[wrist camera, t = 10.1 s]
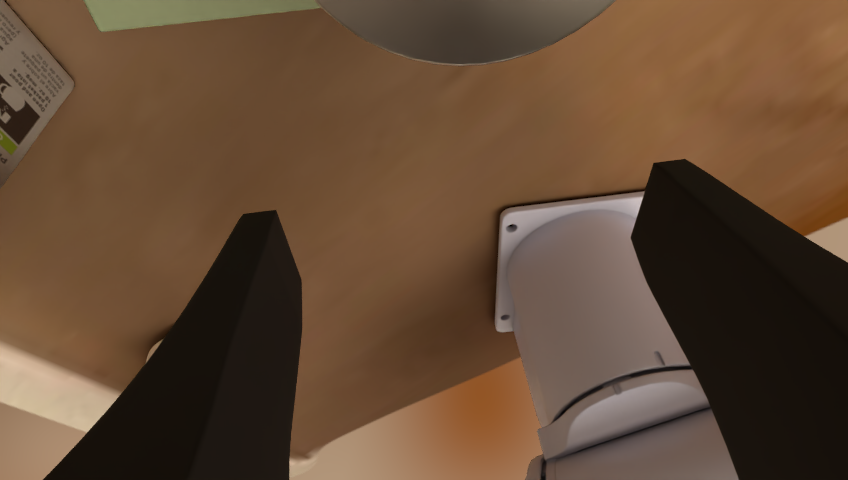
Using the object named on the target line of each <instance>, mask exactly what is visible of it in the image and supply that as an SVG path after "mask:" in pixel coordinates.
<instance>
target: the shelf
mask: <svg viewBox="0 0 848 480" xmlns="http://www.w3.org/2000/svg"><path fill="white" fill-rule="evenodd" d="M83 1H84V2H85V4H86V6H87V8H88V10H89V12H90V14H91V16H92V18H93V20H94V22H95V24H96V26H97V28H98V30H99V31H100V32H108V31H117V30H126V29H135V28H144V27H153V26H162V25H172V24H181V23H190V22H199V21H208V20H217V19H226V18H235V17H244V16H254V15H263V14H272V13H281V12H290V11H299V10H308V9H317V8H321V7H320V6H319V5H318V4H317V3H316V2H315V1H314V0H83Z"/></svg>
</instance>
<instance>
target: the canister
mask: <svg viewBox="0 0 848 480" xmlns="http://www.w3.org/2000/svg"><path fill="white" fill-rule="evenodd" d="M314 1H315V2H316V3H317V4H318V5H319V6H320V7H321V8H322V9H323V10H324V11H326V12H327V13H328V14H329V15H330V16H331V17H333V18H334V19H335V20H336V21H337V22H339V23H340V24H341V25H342V26H344V27H345V28H347V29H348V30H350V31H351V32H353V33H354V34H356V35H357V36H359V37H360V38H362V39H363V40H365V41H367V42H369V43H371V44H373V45H375V46H377V47H379V48H381V49H383V50H386V51H388V52H390V53H393V54H396V55H399V56H402V57H405V58H408V59H411V60H416V61H421V62H426V63H430V64H436V65H450V66H472V65H485V64H491V63H497V62H502V61H507V60H511V59H514V58H517V57H521V56H524V55H528V54H531V53H533V52H535V51H538V50H540V49H542V48H545V47H547V46H549V45H552V44H554V43H556V42H558V41H559V40H561V39H563V38H565V37H567V36H568V35H570V34H572V33H574V32H575V31H577V30H579V29H580V28H581V27H583V26H584V25H586V24H587V23H588V22H590V21H591V20H593V19H594V18H596V17H597V16H598V15H600V14H601V13H602V12H603V11H604V10H606V9H607V8H608V7H609V6H610V5H611V4H612V3H614V2H615V1H616V0H314Z"/></svg>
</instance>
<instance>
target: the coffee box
mask: <svg viewBox="0 0 848 480" xmlns="http://www.w3.org/2000/svg"><path fill="white" fill-rule="evenodd" d="M74 86H75V85H74V81H73V80H72V79H71V77H70V76H69V75H68V74H67V73H66V71H65V70H64V69H63V68H62V67H61V66H60V65H59V63H58V62H57V61H56V60H55V59H54V58H53V56H52V55H51V54H50V53H49V52H48V51H47V49H46V48H45V47H44V46H43V45H42V44H41V43H40V42H39V40H38V39H37V38H36V37H35V36H34V35H33V34H32V32H31V31H30V30H29V29H28V28H27V27H26V26H25V25H24V23H23V22H22V21H21V20H20V19H19V17H18V16H17V15H16V14H15V13H14V12H13V11H12V9H11V8H10V7H9V6H8V5H7V4H6V2H5V1H4V0H0V188H1V187H2V186H3V185H4V183H5V182H6V181H7V179H8V178H9V176H10V175H11V173H12V172H13V171H14V170H15V168H16V167H17V166H18V164H19V162H20V161H21V160H22V159H23V157H24V156H25V155H26V153H27V152H28V150H29V149H30V147H31V146H32V144H33V143H34V142H35V140H36V139H37V137H38V136H39V135H40V133H41V132H42V131H43V129H44V128H45V126H46V125H47V124H48V122H49V121H50V120H51V118H52V117H53V115H54V114H55V112H56V111H57V110H58V108H59V107H60V106H61V105H62V103H63V102H64V101H65V99H66V98H67V97H68V95H69V94H70V93H71V92H72V90H73V88H74Z"/></svg>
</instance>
